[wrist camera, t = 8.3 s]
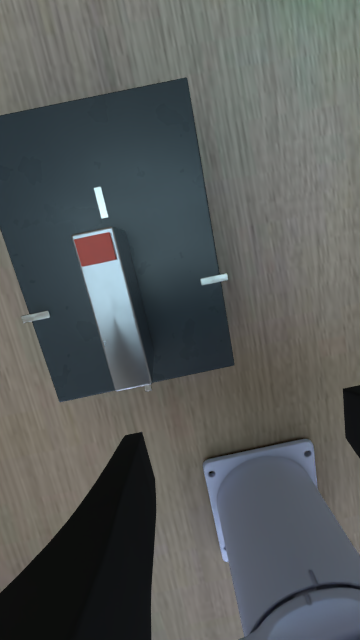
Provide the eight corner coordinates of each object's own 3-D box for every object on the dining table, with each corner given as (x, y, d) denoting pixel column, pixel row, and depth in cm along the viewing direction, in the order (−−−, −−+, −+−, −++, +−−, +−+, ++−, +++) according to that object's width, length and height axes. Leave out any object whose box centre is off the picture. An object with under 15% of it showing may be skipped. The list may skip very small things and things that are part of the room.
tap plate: (230, 351, 20) (242, 371, 17) (70, 384, 20) (54, 411, 17) (188, 105, 16) (195, 73, 13) (-8, 145, 16) (-48, 122, 13)
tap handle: (154, 352, 16) (152, 387, 12) (125, 358, 16) (114, 395, 12) (125, 229, 15) (112, 225, 11) (92, 236, 15) (67, 234, 11)
